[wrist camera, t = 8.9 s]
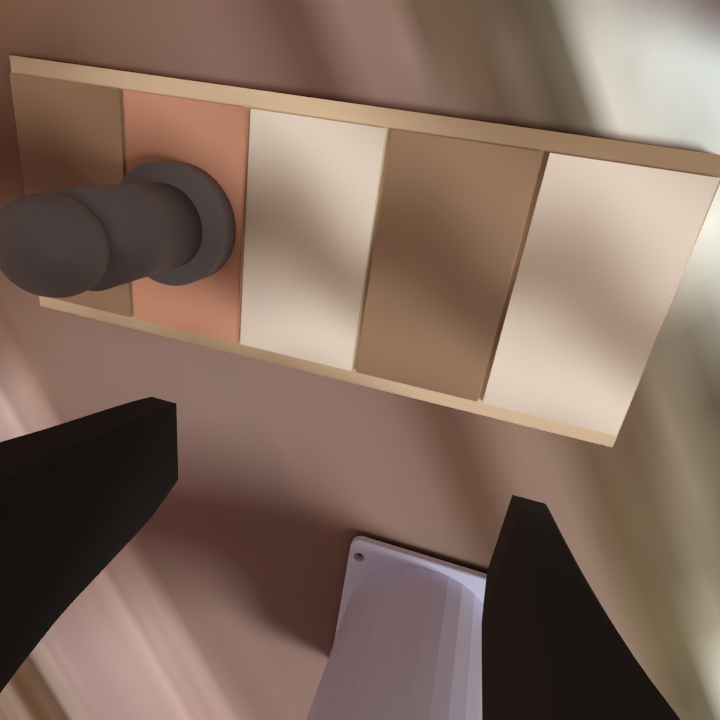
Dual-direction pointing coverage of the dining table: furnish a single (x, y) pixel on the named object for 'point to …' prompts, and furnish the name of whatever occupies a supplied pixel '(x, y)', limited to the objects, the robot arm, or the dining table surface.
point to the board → (392, 239)
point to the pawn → (119, 232)
